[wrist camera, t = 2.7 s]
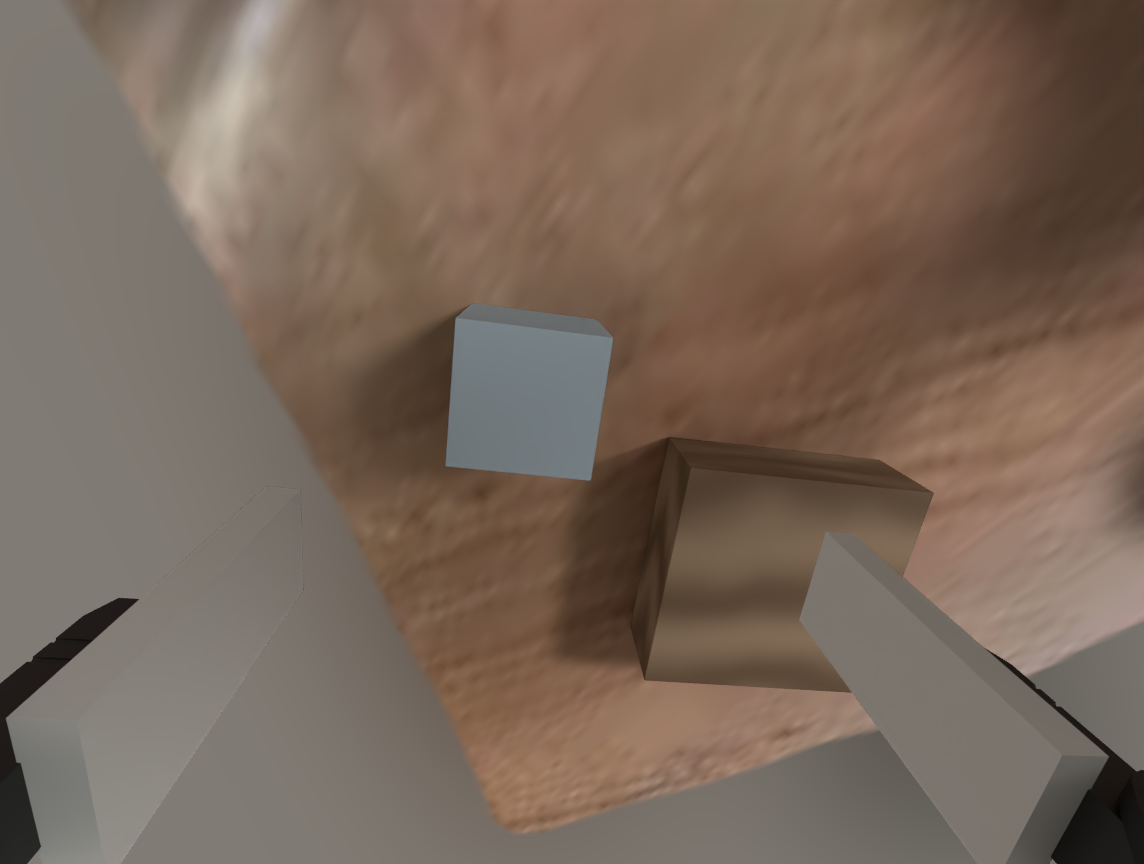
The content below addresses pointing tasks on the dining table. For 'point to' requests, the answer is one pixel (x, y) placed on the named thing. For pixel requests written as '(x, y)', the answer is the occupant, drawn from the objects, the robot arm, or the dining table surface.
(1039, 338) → the dining table surface
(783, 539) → the walnut block
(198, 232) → the dining table surface
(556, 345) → the slate cube
